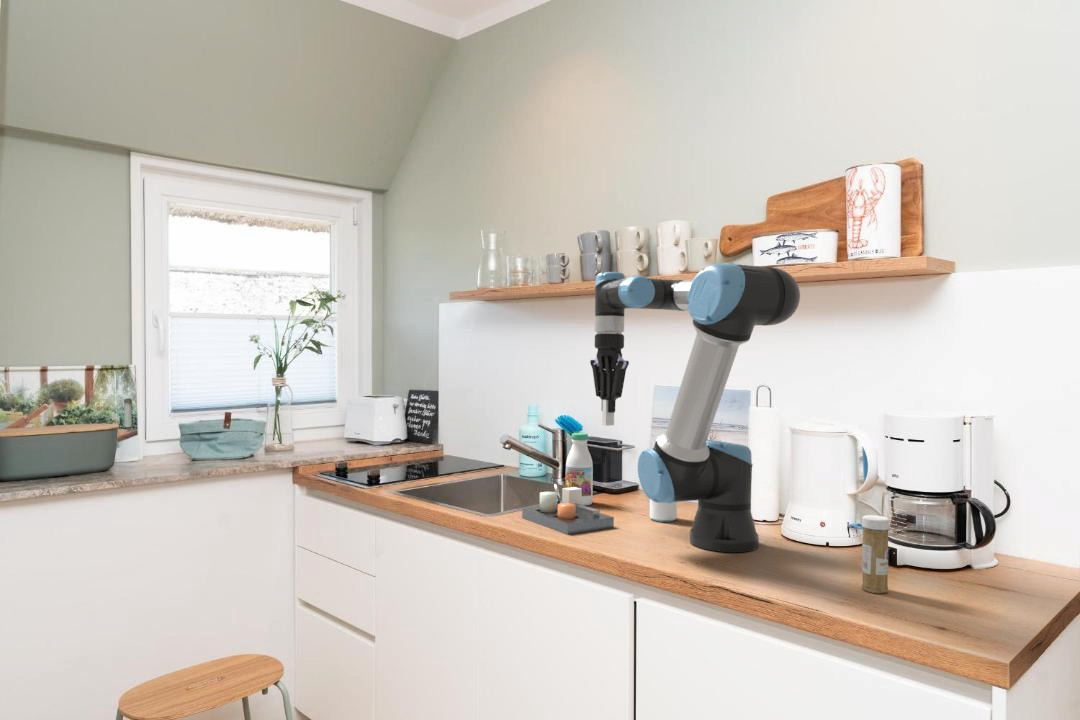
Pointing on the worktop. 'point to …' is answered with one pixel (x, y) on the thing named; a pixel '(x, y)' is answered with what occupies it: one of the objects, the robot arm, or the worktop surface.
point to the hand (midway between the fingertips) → (608, 425)
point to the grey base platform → (584, 519)
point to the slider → (572, 495)
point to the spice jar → (875, 553)
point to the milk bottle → (580, 468)
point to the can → (662, 511)
